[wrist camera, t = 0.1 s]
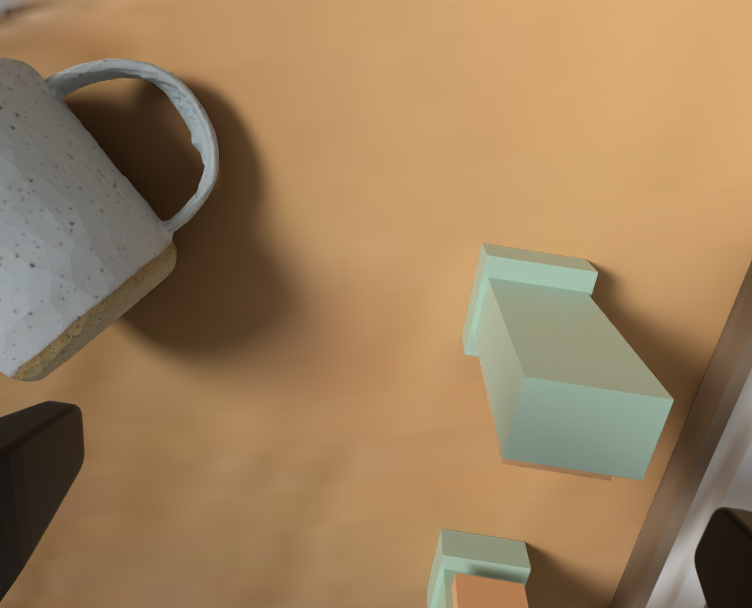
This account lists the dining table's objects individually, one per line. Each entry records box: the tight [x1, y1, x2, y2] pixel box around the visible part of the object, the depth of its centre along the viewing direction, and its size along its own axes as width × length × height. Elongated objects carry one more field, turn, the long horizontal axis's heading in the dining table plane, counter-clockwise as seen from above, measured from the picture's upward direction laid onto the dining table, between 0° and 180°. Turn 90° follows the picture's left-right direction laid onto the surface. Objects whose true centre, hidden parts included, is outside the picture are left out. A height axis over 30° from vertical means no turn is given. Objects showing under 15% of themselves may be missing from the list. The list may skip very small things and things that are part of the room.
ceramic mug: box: [0, 57, 219, 381], centre depth 18 cm, size 11×8×8 cm
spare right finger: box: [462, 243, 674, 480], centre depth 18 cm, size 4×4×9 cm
